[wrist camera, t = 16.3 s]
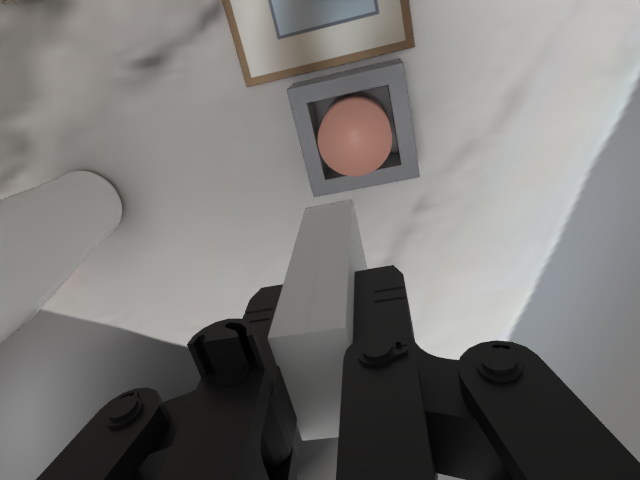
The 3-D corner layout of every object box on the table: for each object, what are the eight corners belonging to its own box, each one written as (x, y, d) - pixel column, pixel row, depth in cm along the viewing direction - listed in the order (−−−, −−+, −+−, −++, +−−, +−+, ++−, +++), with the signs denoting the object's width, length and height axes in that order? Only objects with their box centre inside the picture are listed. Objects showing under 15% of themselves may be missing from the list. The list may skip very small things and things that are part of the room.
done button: (330, 164, 32) (326, 182, 29) (316, 100, 30) (310, 111, 27) (393, 151, 31) (397, 168, 28) (382, 85, 30) (385, 94, 26)
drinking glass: (64, 141, 34) (-136, 223, 20) (148, 189, 35) (12, 299, 21) (38, 212, 36) (-152, 326, 23) (116, 255, 38) (-21, 388, 24)
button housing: (317, 182, 33) (313, 197, 31) (293, 83, 31) (286, 90, 28) (415, 163, 32) (419, 177, 30) (399, 58, 29) (402, 62, 27)
